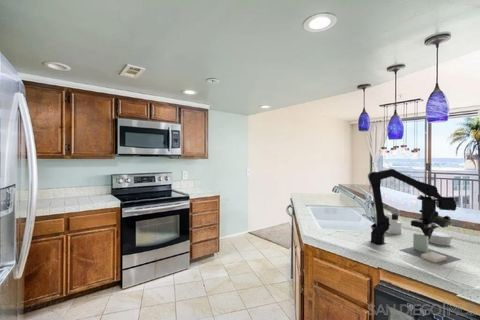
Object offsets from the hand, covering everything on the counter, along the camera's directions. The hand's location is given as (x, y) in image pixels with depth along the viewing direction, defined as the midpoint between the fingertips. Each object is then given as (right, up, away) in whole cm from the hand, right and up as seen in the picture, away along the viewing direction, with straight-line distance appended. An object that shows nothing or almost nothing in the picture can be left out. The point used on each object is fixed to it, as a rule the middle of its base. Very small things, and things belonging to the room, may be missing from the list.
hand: (428, 239), depth 122 cm
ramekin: (+13, -6, +10) cm, 18 cm away
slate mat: (-5, -6, -7) cm, 10 cm away
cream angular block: (-3, -4, -10) cm, 12 cm away
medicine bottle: (0, -5, +28) cm, 28 cm away
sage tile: (-5, -5, -2) cm, 8 cm away
